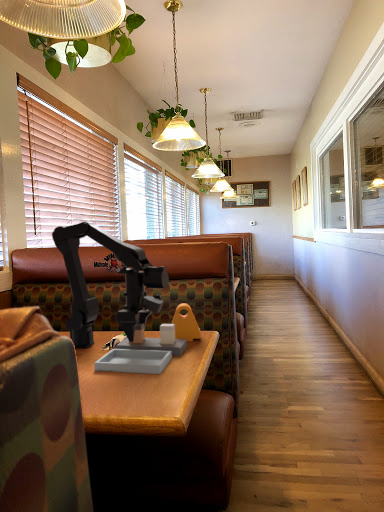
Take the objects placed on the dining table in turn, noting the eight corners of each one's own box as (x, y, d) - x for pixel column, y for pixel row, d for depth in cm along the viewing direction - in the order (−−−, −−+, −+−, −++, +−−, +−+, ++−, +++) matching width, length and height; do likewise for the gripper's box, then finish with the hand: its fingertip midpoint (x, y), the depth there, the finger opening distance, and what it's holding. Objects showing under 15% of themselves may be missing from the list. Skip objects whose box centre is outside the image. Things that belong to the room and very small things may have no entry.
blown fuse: (129, 350, 115) (128, 325, 114) (132, 347, 118) (131, 323, 117) (141, 351, 114) (141, 325, 114) (144, 348, 117) (144, 323, 116)
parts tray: (94, 370, 98) (94, 362, 98) (113, 356, 110) (112, 348, 110) (160, 374, 95) (159, 365, 95) (171, 358, 106) (171, 351, 106)
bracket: (199, 335, 131) (198, 301, 130) (200, 340, 124) (199, 305, 123) (169, 336, 131) (168, 302, 130) (168, 342, 123) (167, 306, 123)
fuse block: (116, 353, 113) (116, 345, 112) (127, 344, 121) (127, 337, 121) (180, 355, 109) (180, 347, 108) (187, 346, 117) (187, 338, 117)
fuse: (160, 351, 113) (159, 325, 112) (163, 349, 116) (162, 323, 115) (173, 352, 112) (172, 326, 112) (175, 349, 115) (174, 324, 114)
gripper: (150, 293, 104) (152, 348, 105) (168, 284, 122) (169, 330, 123) (113, 293, 106) (115, 346, 107) (136, 284, 125) (137, 330, 125)
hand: (136, 337), depth 116 cm, fingers open, 9 cm apart
